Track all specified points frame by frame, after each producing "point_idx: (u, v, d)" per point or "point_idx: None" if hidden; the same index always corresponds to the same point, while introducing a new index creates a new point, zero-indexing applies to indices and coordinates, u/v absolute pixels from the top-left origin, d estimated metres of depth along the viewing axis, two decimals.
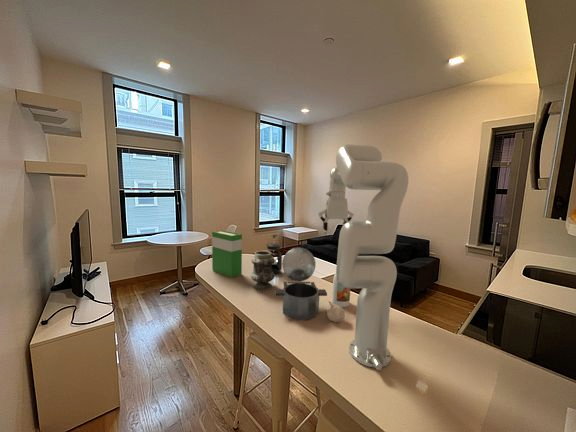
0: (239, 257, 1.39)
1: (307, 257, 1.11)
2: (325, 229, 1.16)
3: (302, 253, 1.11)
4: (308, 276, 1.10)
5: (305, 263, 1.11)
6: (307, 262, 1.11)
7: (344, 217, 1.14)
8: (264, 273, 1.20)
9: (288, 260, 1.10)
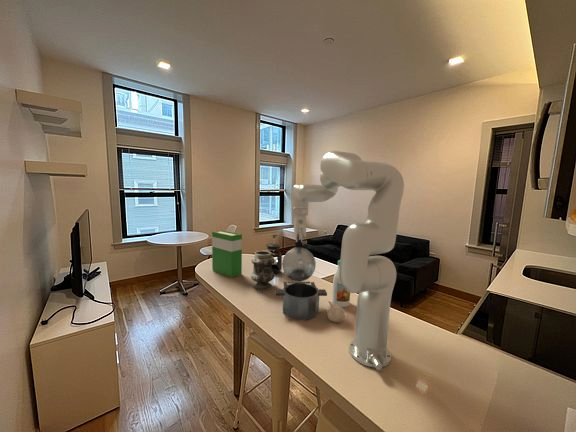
0: (239, 257, 1.39)
1: (307, 257, 1.11)
2: None
3: (302, 253, 1.11)
4: (308, 276, 1.10)
5: (305, 263, 1.10)
6: (307, 262, 1.10)
7: None
8: (264, 273, 1.20)
9: (288, 260, 1.10)
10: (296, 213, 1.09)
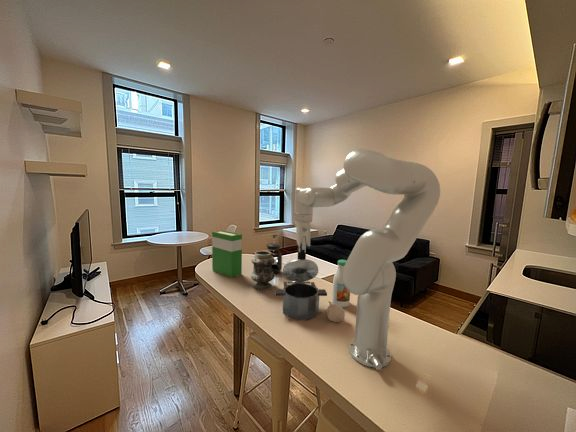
0: (239, 257, 1.39)
1: (310, 267, 1.02)
2: None
3: (305, 265, 1.00)
4: (309, 279, 1.08)
5: (307, 271, 1.04)
6: (309, 270, 1.03)
7: None
8: (264, 273, 1.20)
9: (289, 269, 1.02)
10: (299, 219, 0.96)
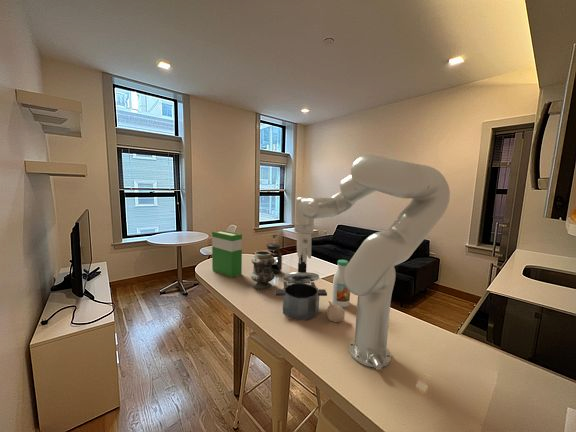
0: (239, 257, 1.39)
1: (311, 277, 0.99)
2: None
3: (306, 276, 0.98)
4: (309, 281, 1.07)
5: (308, 278, 1.02)
6: (310, 278, 1.01)
7: None
8: (264, 273, 1.20)
9: (289, 277, 1.00)
10: (300, 230, 0.93)
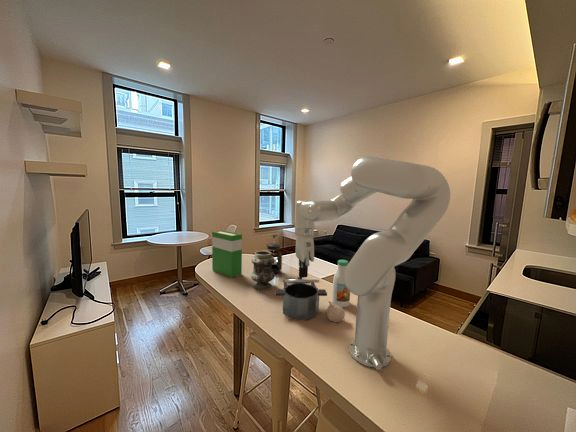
0: (239, 257, 1.39)
1: None
2: (305, 275, 0.97)
3: None
4: (309, 282, 1.07)
5: None
6: None
7: None
8: (264, 273, 1.20)
9: None
10: (302, 234, 0.92)
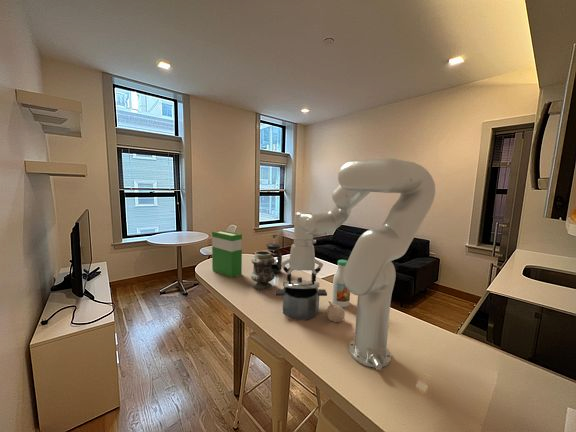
0: (239, 257, 1.39)
1: None
2: None
3: None
4: None
5: None
6: None
7: None
8: (264, 273, 1.20)
9: None
10: (311, 244, 0.96)
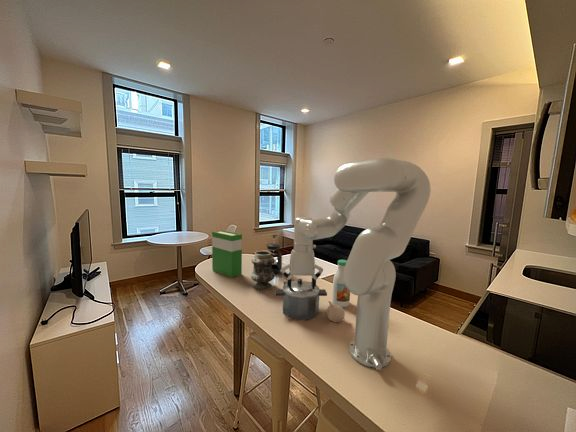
0: (239, 257, 1.39)
1: None
2: None
3: None
4: None
5: None
6: None
7: None
8: (264, 273, 1.20)
9: None
10: (311, 250, 0.96)
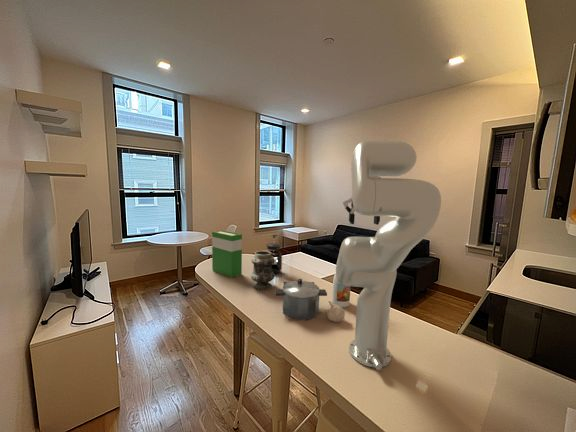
0: (239, 257, 1.39)
1: None
2: None
3: None
4: None
5: None
6: None
7: None
8: (264, 273, 1.20)
9: None
10: None
